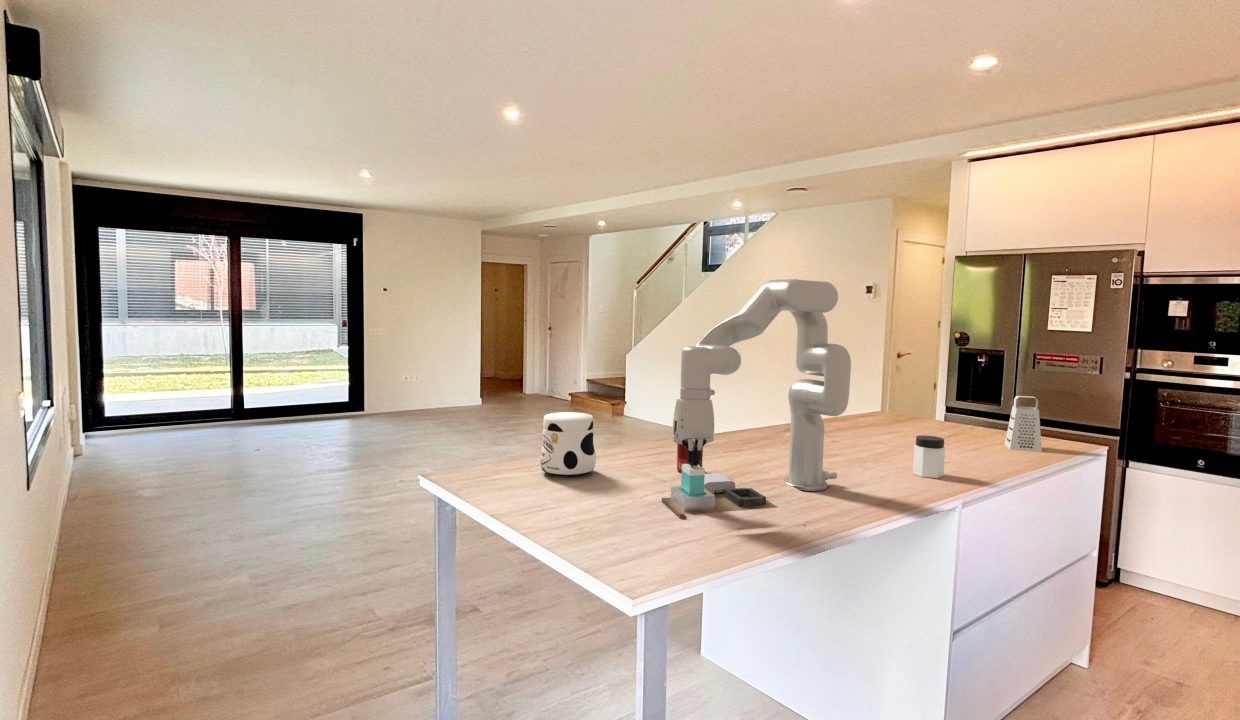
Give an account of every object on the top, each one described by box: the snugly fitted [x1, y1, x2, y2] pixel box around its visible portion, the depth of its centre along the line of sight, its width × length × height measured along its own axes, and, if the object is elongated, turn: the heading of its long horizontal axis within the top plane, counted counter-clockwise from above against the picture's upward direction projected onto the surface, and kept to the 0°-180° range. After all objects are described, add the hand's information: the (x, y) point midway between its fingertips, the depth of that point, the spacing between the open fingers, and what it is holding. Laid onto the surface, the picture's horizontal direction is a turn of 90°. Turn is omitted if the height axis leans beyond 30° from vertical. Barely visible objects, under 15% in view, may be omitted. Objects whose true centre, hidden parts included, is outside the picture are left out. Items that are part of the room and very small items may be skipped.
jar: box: [912, 435, 946, 479], centre depth 207 cm, size 9×8×12 cm
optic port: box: [670, 485, 716, 512], centre depth 169 cm, size 8×10×4 cm
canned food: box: [676, 439, 704, 475], centre depth 205 cm, size 8×8×11 cm
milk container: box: [539, 411, 597, 478], centre depth 201 cm, size 17×17×18 cm
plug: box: [680, 464, 706, 496], centre depth 168 cm, size 4×6×10 cm
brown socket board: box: [661, 487, 778, 519], centre depth 171 cm, size 27×14×3 cm, turn 105°
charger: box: [704, 472, 736, 495], centre depth 185 cm, size 5×9×15 cm
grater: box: [1004, 395, 1043, 453], centre depth 250 cm, size 10×10×20 cm
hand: (692, 464), depth 168 cm, fingers closed
